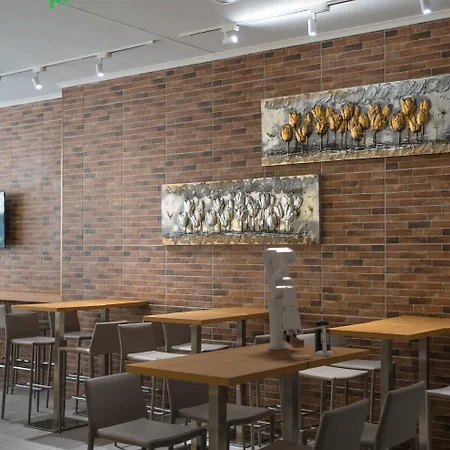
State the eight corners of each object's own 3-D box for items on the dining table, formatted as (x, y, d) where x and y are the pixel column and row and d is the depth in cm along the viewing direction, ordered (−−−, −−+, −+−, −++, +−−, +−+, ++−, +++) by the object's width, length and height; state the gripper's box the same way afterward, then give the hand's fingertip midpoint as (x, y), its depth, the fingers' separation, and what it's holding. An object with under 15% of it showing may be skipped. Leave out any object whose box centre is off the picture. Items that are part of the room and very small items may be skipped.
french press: (319, 349, 435) (317, 309, 436) (334, 350, 430) (332, 310, 431) (310, 351, 425) (309, 311, 426) (326, 352, 420) (324, 311, 421)
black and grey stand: (314, 356, 407) (313, 328, 408) (317, 353, 417) (316, 326, 417) (332, 356, 405) (331, 328, 405) (335, 353, 414) (334, 326, 415)
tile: (290, 355, 401) (296, 357, 392) (306, 354, 404) (312, 356, 394) (290, 358, 401) (296, 361, 392) (306, 357, 403) (312, 360, 394)
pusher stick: (279, 340, 423) (279, 333, 423) (289, 339, 424) (289, 332, 424) (293, 348, 400) (293, 340, 400) (304, 347, 402) (304, 340, 402)
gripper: (278, 309, 408) (279, 343, 407) (306, 308, 412) (307, 342, 411) (274, 309, 415) (275, 342, 414) (301, 307, 419) (303, 340, 418)
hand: (291, 341), depth 413 cm, fingers closed on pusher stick, 3 cm apart
